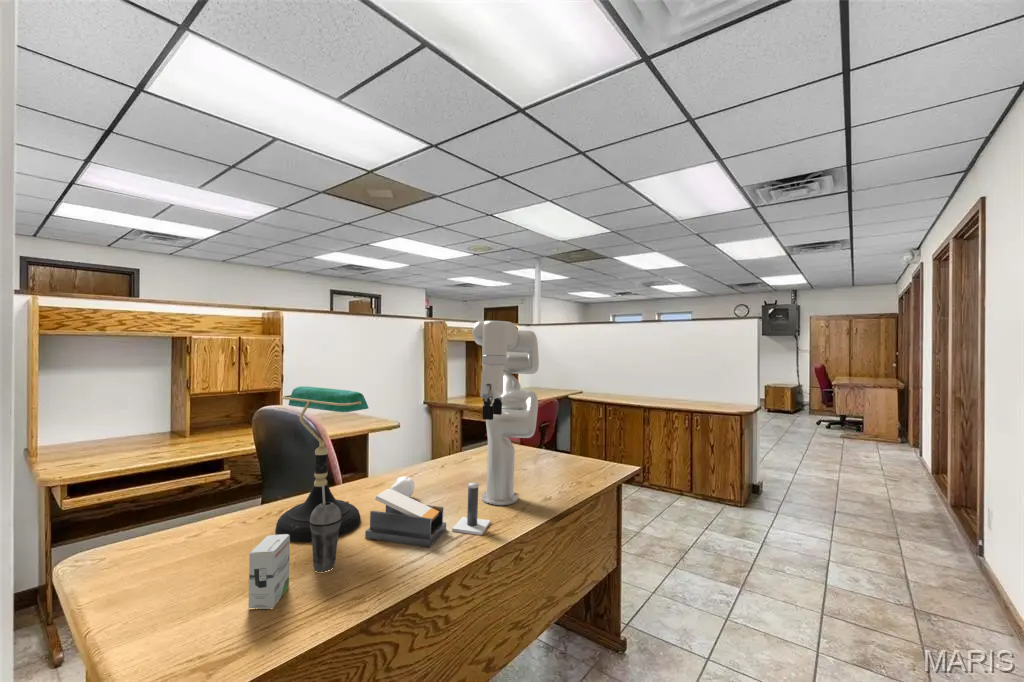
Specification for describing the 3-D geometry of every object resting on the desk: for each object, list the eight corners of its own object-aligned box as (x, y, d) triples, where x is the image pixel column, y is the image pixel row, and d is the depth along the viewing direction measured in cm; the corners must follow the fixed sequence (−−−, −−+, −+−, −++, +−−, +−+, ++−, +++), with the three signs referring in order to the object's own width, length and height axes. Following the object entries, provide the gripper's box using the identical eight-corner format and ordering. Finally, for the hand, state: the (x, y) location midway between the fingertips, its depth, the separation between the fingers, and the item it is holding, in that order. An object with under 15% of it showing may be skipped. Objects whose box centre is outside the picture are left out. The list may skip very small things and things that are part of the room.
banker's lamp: (381, 519, 136) (385, 388, 136) (320, 551, 116) (325, 396, 115) (318, 504, 148) (322, 382, 148) (252, 530, 127) (256, 388, 127)
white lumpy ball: (403, 493, 160) (403, 471, 160) (419, 497, 156) (419, 475, 156) (386, 499, 153) (387, 477, 153) (402, 504, 149) (403, 481, 149)
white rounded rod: (469, 521, 135) (470, 481, 135) (478, 522, 134) (479, 483, 134) (465, 525, 132) (466, 485, 132) (475, 526, 131) (476, 486, 131)
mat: (462, 519, 139) (462, 516, 139) (490, 522, 137) (490, 520, 137) (451, 531, 130) (452, 528, 130) (481, 535, 128) (481, 532, 128)
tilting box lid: (375, 499, 126) (376, 495, 126) (387, 491, 133) (388, 487, 132) (428, 525, 122) (429, 520, 122) (438, 515, 129) (439, 511, 129)
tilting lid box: (365, 538, 124) (366, 512, 124) (387, 521, 135) (387, 498, 135) (429, 547, 119) (429, 521, 119) (446, 529, 131) (446, 505, 131)
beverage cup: (347, 563, 109) (349, 482, 109) (325, 578, 103) (328, 491, 103) (323, 558, 112) (325, 478, 112) (300, 572, 105) (303, 487, 105)
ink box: (266, 587, 98) (268, 533, 98) (289, 586, 99) (291, 533, 99) (246, 611, 90) (248, 552, 90) (272, 610, 90) (273, 551, 90)
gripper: (490, 359, 146) (488, 411, 146) (473, 361, 130) (471, 420, 130) (512, 360, 145) (510, 413, 145) (498, 362, 128) (496, 422, 128)
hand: (492, 416), depth 137 cm, fingers open, 9 cm apart
